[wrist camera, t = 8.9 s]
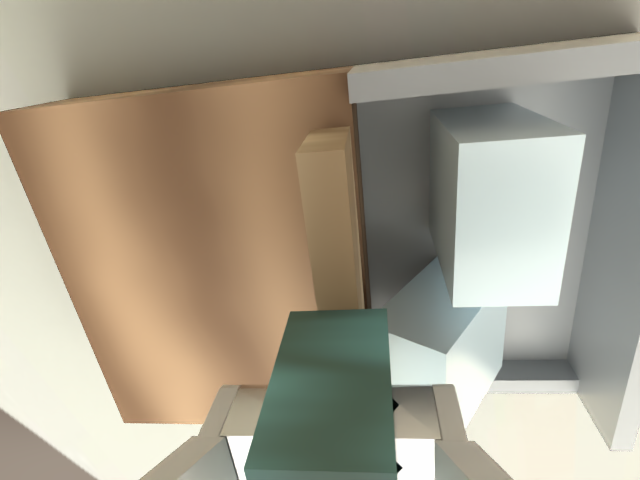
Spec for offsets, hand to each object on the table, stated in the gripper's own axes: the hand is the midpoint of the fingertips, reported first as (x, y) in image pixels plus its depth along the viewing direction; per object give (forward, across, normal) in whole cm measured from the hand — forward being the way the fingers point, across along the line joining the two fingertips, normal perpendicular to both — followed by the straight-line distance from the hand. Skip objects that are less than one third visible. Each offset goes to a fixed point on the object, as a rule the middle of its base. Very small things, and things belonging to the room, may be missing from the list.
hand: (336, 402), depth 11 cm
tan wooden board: (+10, +6, 0) cm, 11 cm away
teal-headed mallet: (+5, 0, 0) cm, 5 cm away
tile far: (+7, -2, +3) cm, 8 cm away
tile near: (+6, -3, -3) cm, 8 cm away
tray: (+10, -6, 0) cm, 11 cm away
